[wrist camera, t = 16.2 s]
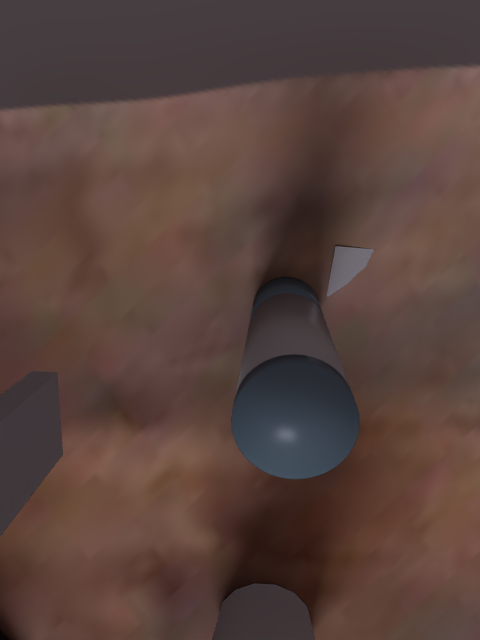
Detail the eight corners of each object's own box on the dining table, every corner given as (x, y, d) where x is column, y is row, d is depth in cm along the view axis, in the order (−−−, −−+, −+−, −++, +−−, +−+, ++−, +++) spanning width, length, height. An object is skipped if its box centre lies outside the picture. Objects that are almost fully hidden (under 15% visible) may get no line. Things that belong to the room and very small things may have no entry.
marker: (251, 338, 26) (229, 473, 14) (254, 275, 25) (233, 360, 13) (315, 342, 26) (352, 483, 13) (321, 278, 25) (366, 369, 12)
